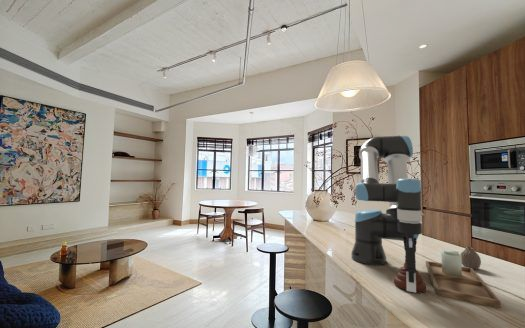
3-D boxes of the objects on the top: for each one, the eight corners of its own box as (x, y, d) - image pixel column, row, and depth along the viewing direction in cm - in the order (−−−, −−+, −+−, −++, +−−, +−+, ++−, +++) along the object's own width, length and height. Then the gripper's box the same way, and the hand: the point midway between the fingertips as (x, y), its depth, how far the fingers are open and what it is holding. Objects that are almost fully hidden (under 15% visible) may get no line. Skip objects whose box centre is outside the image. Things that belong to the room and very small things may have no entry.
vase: (485, 271, 100) (484, 250, 100) (466, 270, 101) (465, 249, 102) (474, 265, 107) (473, 246, 107) (456, 264, 108) (456, 245, 108)
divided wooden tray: (435, 294, 79) (435, 288, 79) (425, 265, 106) (425, 260, 106) (500, 308, 71) (500, 301, 71) (471, 272, 98) (471, 268, 98)
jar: (443, 274, 94) (442, 251, 94) (440, 269, 99) (440, 247, 100) (463, 278, 91) (463, 254, 91) (460, 272, 96) (459, 250, 97)
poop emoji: (391, 287, 84) (390, 260, 84) (396, 279, 90) (395, 254, 91) (425, 296, 77) (424, 267, 78) (427, 287, 84) (427, 260, 84)
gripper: (425, 227, 74) (426, 302, 72) (419, 218, 93) (420, 277, 91) (397, 225, 78) (398, 295, 76) (397, 216, 96) (398, 273, 95)
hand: (410, 285), depth 84 cm, fingers closed on poop emoji, 9 cm apart
